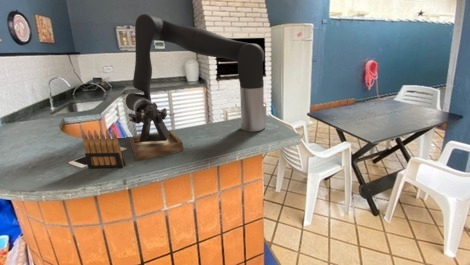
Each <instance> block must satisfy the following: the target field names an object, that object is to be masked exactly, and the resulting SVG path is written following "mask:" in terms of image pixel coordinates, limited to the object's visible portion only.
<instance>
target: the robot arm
mask: <svg viewBox="0 0 470 265" xmlns="http://www.w3.org/2000/svg"><path fill="white" fill-rule="evenodd" d="M134 24H135V25H134V34H135V35H134V36H135V37H134V38H135V39H134V40H135V44H134V45H135V46H134V47H135V62H134V64H135V65H134V70H133V72H134V73H133V77H132V78H133V79H132V86H133V88H134V89H136V90H138V91H141V92H143V93H136V92H129V93H128V94H127V95H126V97H125V105H126V107H127V109H129V110H131V111H133V112H134V113H129V112H128V120H129V122H131V123H134V124H140V123H142V125H143V124H146V125H148V119H145V120H144V117H145V114H144V108H145V107H146V106H147V105H149V104H150V103H151V104H150V105H149V106H151V105H152V104H153V102H152V98H151V82H152V76H153V66H152V60H151V48H152V44H153V41H159V42H166V43H171V44H174V45H176V46H179V47H181V49H182V48H183V49H185V50H187V51H189V52H191V53H194V54H198V55H201V56H206V57H211V58H221V59H227V60H231V61H234V62H236V63H237V73H238V74H237V75H238V81H239V93H240V94H239V96H240V126H241V130H242V131H243V132H250V133H251V132H260V131H262V130H264V129H266V127H267V125H266V123H267V122H266V121H267V117H266V114H267V112H266V110H267V107H266V105H265V103H264V102H265V101H264V100H265V98H264V90H265V89H264V83H265V80H264V76H263V74H264V73H263V71H264V70H263V69H264V68H263V66H264V64H263V62H264V60H265V56H266V55H265V51H264V49H263V48H262V47H261V46H260V44H257V43H250V42H249V43H248V42H243V41H239V40H238V41H237V40H234V39H230V38H228V37H225V36H223V35H221V34H218V33H215V32H212V31H209V30H206V29H203V28H197V27H194V26H189V25H178V24H175V23H172V22H170V21H167V20H165V19H163V18H160V17H158V16H155V15H151V14H147V13H141V14H140V15H138V17H137V18H136V20H135V23H134ZM150 109H151V108H150ZM151 110H152V109H151ZM157 110H158V112H159V113H158V115H157V119H158V123H161V122H162V120H163V121H164V120H166V118H167V116H168V113H167V108H162V109H161V110H160V109H158V108H157ZM151 122H153V120H152V118H151Z"/></svg>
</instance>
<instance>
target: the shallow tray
mask: <svg viewBox="0 0 470 265" xmlns="http://www.w3.org/2000/svg"><path fill="white" fill-rule="evenodd" d="M168 131H169V133H170V134H169V136H168V138H167V140H166V141H152V142H140V136H141V135H138V136H134V137H133V136H132V137H129V141H130V144H131V148H132V151H133V153H134V156H135V159H136V162H140V161H144V160H148V159H153V158H156V157H161V156H166V155H170V154H174V153H178V152H183V151H184V145H183V144H184V143H183V141H182V140H181V139H180V138H179V137H178V136H177V135H176V133H175V132H174V131H173V130H171V129H170V130H168ZM152 134H158V132H155V133H150V135H152Z"/></svg>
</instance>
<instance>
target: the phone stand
mask: <svg viewBox="0 0 470 265" xmlns="http://www.w3.org/2000/svg"><path fill="white" fill-rule="evenodd" d="M151 103H152V105H151V106H149V105H150V104H151ZM151 103H150V104H149V105H147V106H146V107H145V108H144V114H145V117H144V120H145V119H148V125H146V124H143V123H142V128H141V133H140V135H139V136H140V142H152V141H166V140H167V138H168V136H169V134H170V133H169V130H168V128H167V125H166V123H165V122H164V120H163V119H162V122H161V123H158V119H157V115H158V113H159V112H158V110H159V109H158V105H157V103H156V102H151ZM150 108H151V109H152V110H151V109H150ZM157 109H158V110H157ZM151 118H152V121H151ZM152 122H153V124H154V127H155V130H156V133H158V134H153V133H150V132H151V125H152V124H151V123H152ZM150 134H152V135H150Z"/></svg>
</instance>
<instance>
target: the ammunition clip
mask: <svg viewBox="0 0 470 265" xmlns="http://www.w3.org/2000/svg"><path fill="white" fill-rule="evenodd" d="M81 136H82V141H83V148H84V151H85V153H84V156H86V161H87V166H86V167H87V169H88V170H115V169H116V170H118V169H119V170H120V169H124V168H125V166H126V163H125V162H126V161H125V158H124V155H123V151H122V150H121V149H120V147H121V146H120V141H119V139H118V135H117V133H116V130H114V129H112V131H111V133H110V131H109V130H108V129H106V130H105V134H104V132H103V130H102V129H100V130H99V134H98V131H97V130H96V129H94V131H93V133H92V131H91V130H90V129H88V132H87V133H86V131H85V130H84V129H83V130H82V131H81Z"/></svg>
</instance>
